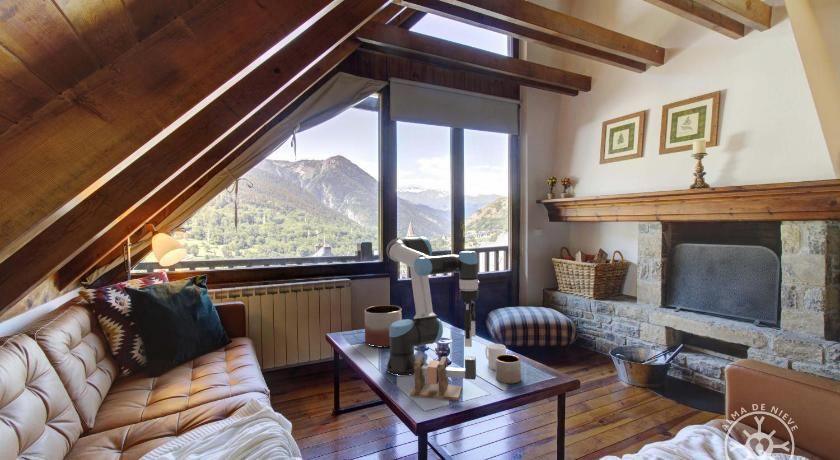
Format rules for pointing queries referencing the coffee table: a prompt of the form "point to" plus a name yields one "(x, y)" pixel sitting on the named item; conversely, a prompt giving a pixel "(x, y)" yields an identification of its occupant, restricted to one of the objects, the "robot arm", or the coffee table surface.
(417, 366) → the bracket
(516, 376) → the planter
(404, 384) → the coffee table surface
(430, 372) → the spacer
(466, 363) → the hammer
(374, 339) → the planter
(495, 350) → the cup
